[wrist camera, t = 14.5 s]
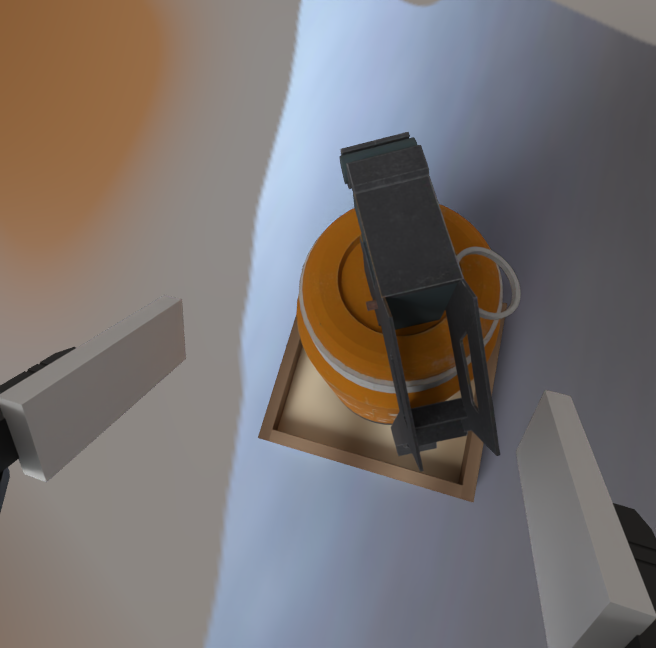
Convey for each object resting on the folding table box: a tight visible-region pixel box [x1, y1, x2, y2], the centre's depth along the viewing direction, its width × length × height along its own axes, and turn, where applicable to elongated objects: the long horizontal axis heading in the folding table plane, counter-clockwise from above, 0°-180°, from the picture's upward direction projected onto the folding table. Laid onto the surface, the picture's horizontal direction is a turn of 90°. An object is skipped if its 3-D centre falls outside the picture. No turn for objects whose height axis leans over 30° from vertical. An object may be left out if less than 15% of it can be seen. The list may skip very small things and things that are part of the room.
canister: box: [297, 132, 521, 472], centre depth 20 cm, size 9×11×20 cm
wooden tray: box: [258, 303, 507, 502], centre depth 30 cm, size 15×14×2 cm
